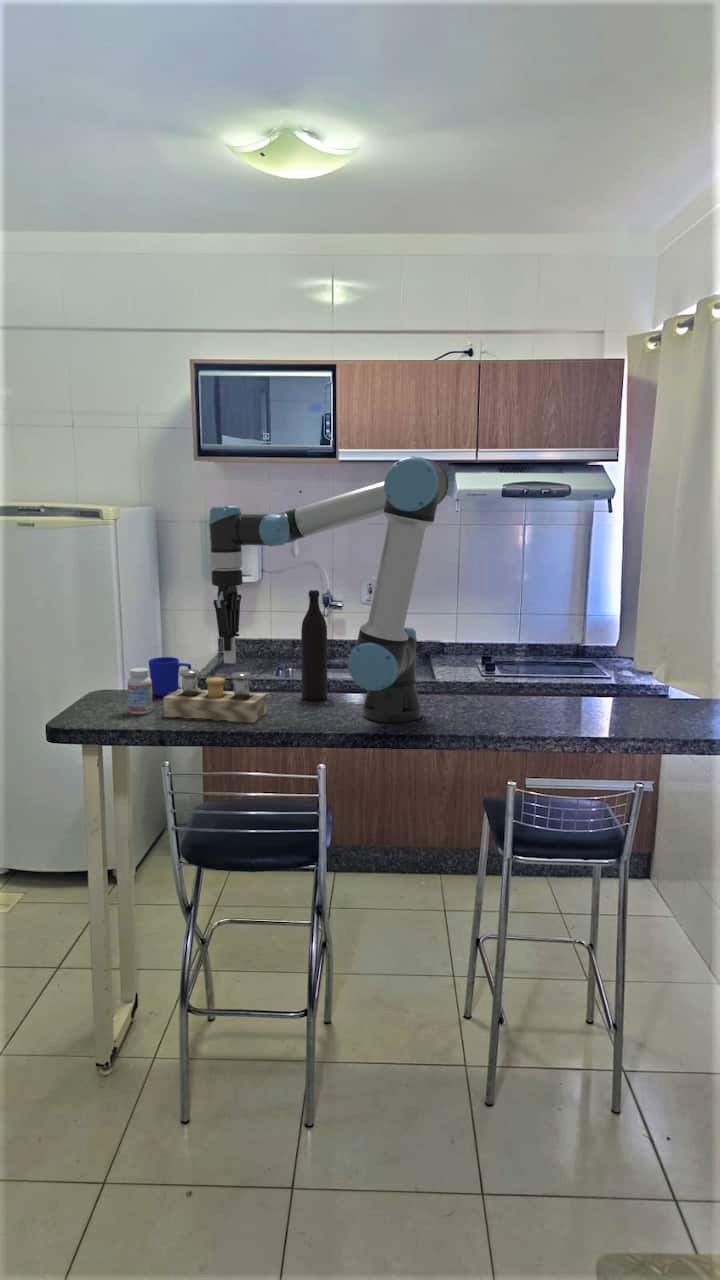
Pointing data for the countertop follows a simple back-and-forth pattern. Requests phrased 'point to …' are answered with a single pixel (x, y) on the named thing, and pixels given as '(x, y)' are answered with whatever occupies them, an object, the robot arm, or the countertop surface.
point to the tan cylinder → (215, 687)
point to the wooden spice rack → (216, 706)
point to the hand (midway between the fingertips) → (230, 662)
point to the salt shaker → (189, 682)
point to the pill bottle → (139, 691)
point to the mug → (165, 675)
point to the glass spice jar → (241, 685)
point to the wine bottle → (314, 651)
